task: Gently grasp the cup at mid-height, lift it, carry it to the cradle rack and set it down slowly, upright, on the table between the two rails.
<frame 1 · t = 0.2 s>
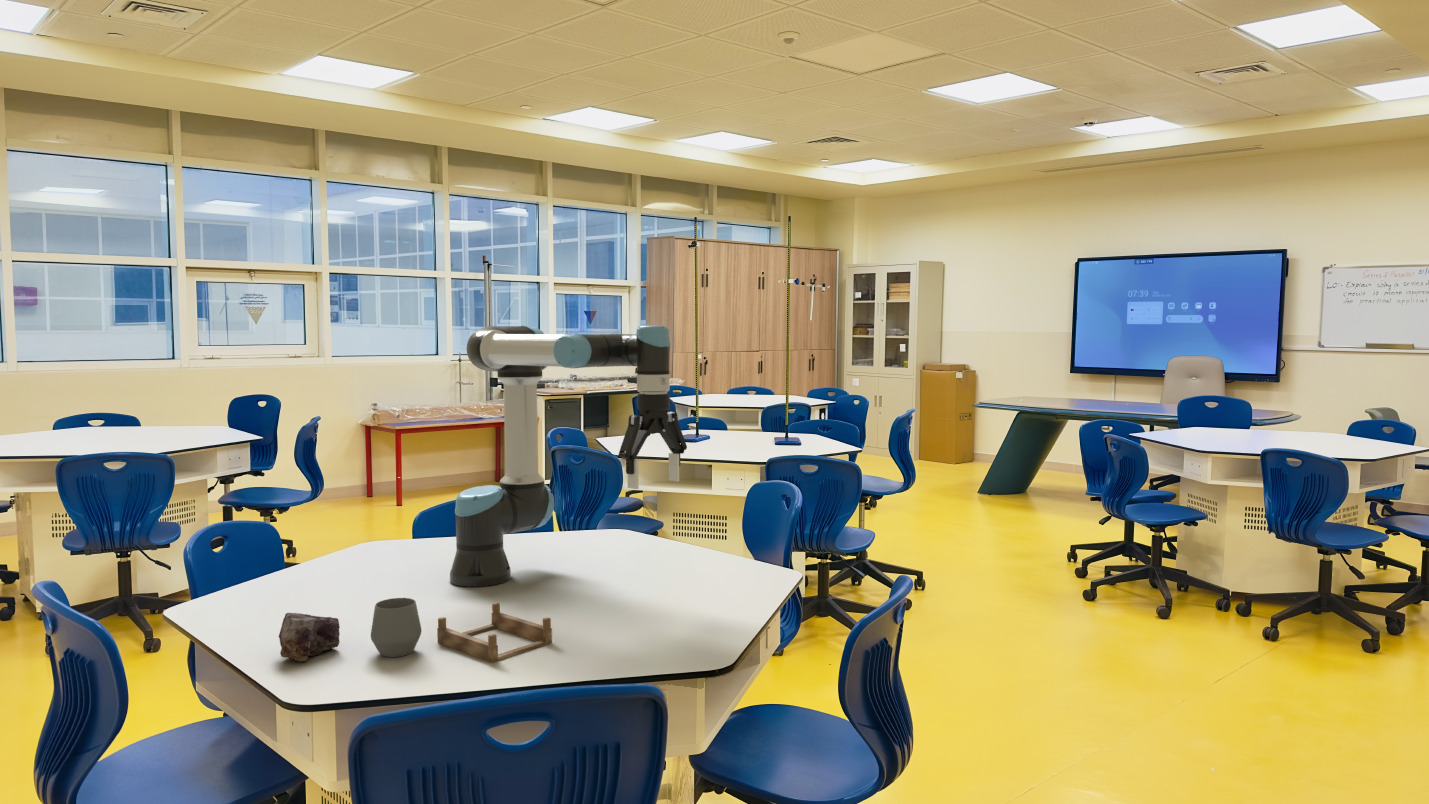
hand: (654, 484, 215), 28 cm above the table, fingers open, 13 cm apart
rack: (494, 642, 189), on the table
cup: (396, 653, 183), on the table
rock: (305, 655, 182), on the table
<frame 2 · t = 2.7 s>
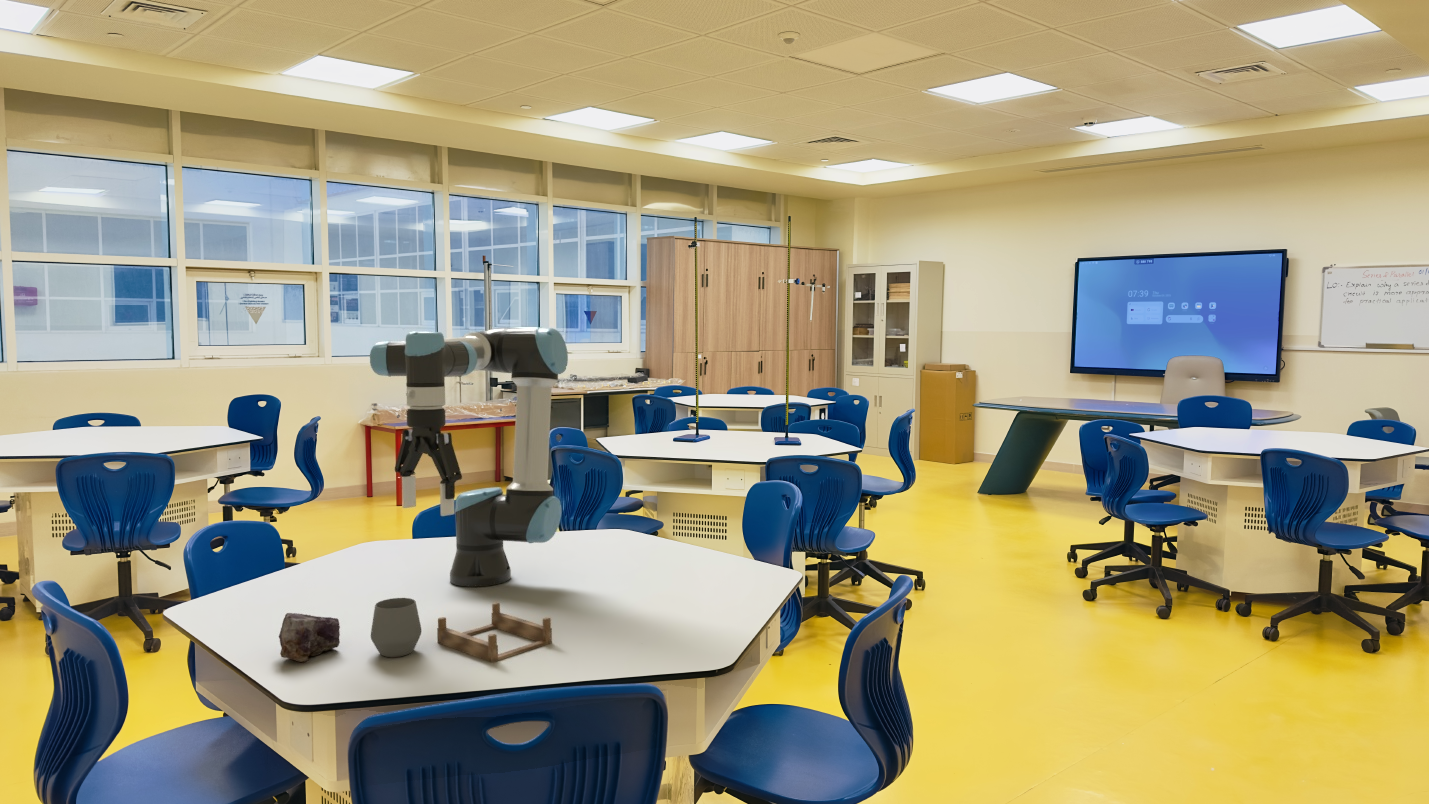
hand: (428, 511, 190), 26 cm above the table, fingers open, 13 cm apart
nothing on the table moved.
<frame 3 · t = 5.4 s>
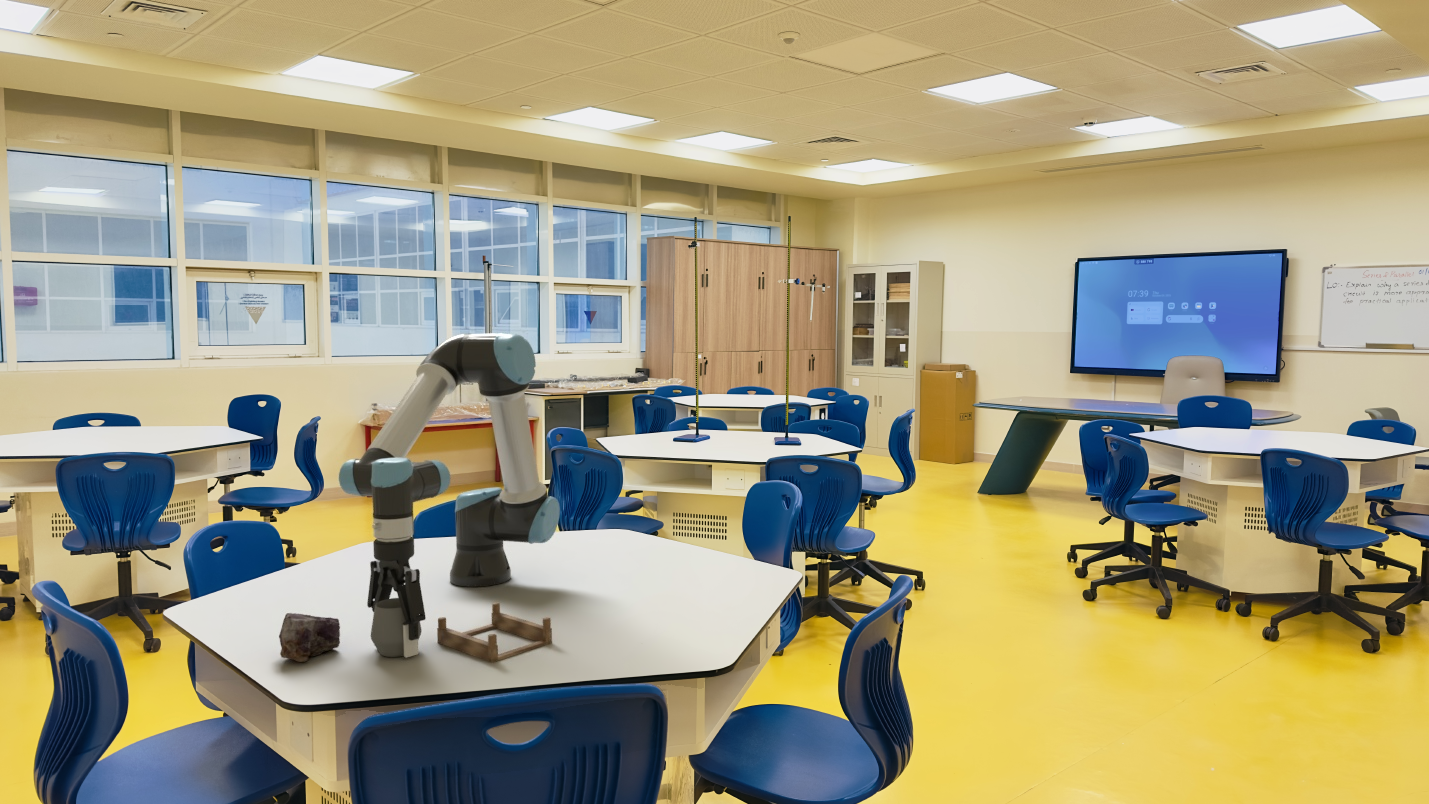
hand: (396, 649, 183), 1 cm above the table, fingers closed on cup, 9 cm apart
cup: (396, 653, 183), on the table, touching gripper
everything else where it was.
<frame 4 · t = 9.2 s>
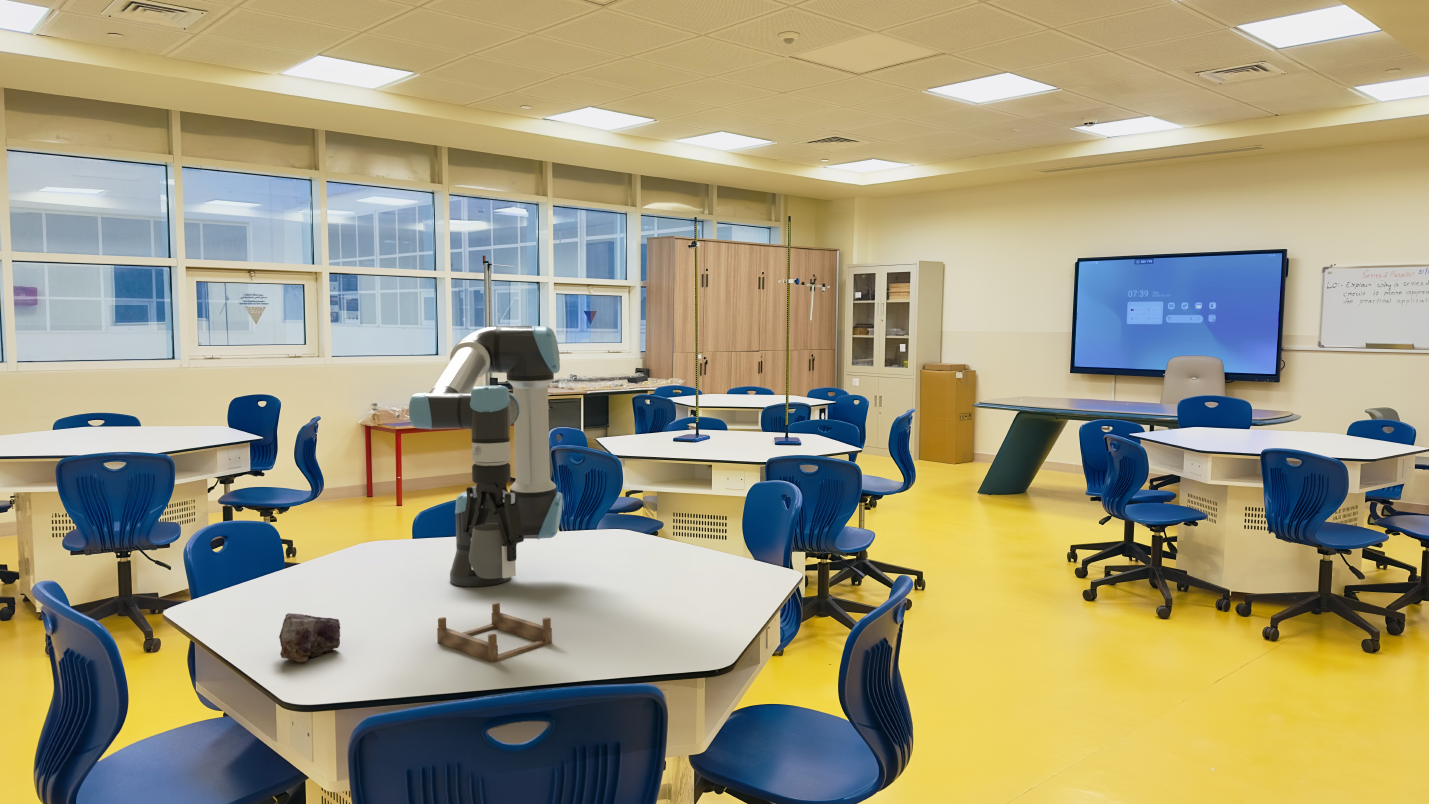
hand: (493, 572, 188), 15 cm above the table, fingers closed on cup, 9 cm apart
cup: (493, 576, 188), point 14 cm above the table, touching gripper
everything else where it was.
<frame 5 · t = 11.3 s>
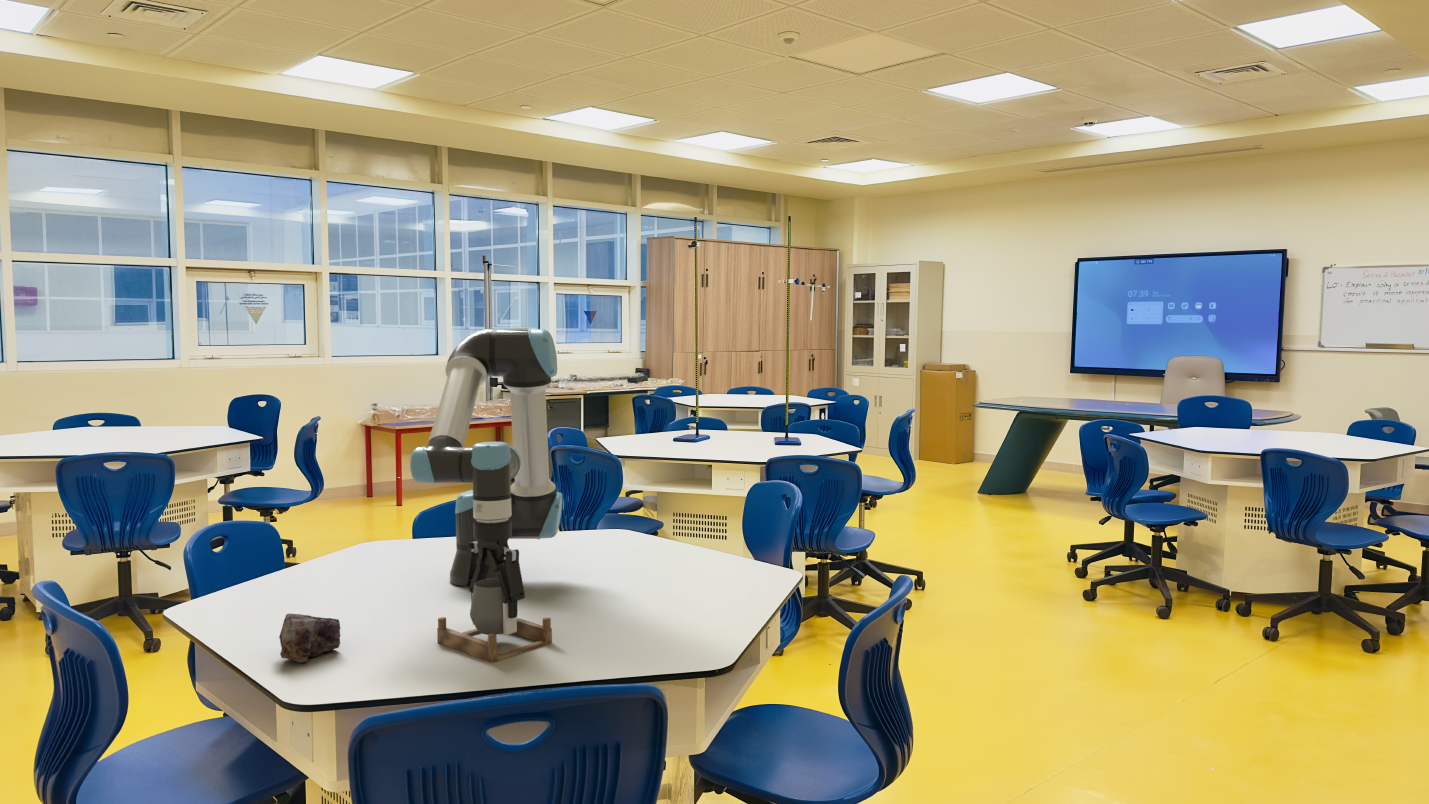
hand: (494, 627, 189), 3 cm above the table, fingers closed on cup, 9 cm apart
cup: (494, 632, 189), point 2 cm above the table, touching gripper
everything else where it was.
when the fingers open (2 cm above the table, at t = 12.8 s): cup drops 1 cm, resting in rack.
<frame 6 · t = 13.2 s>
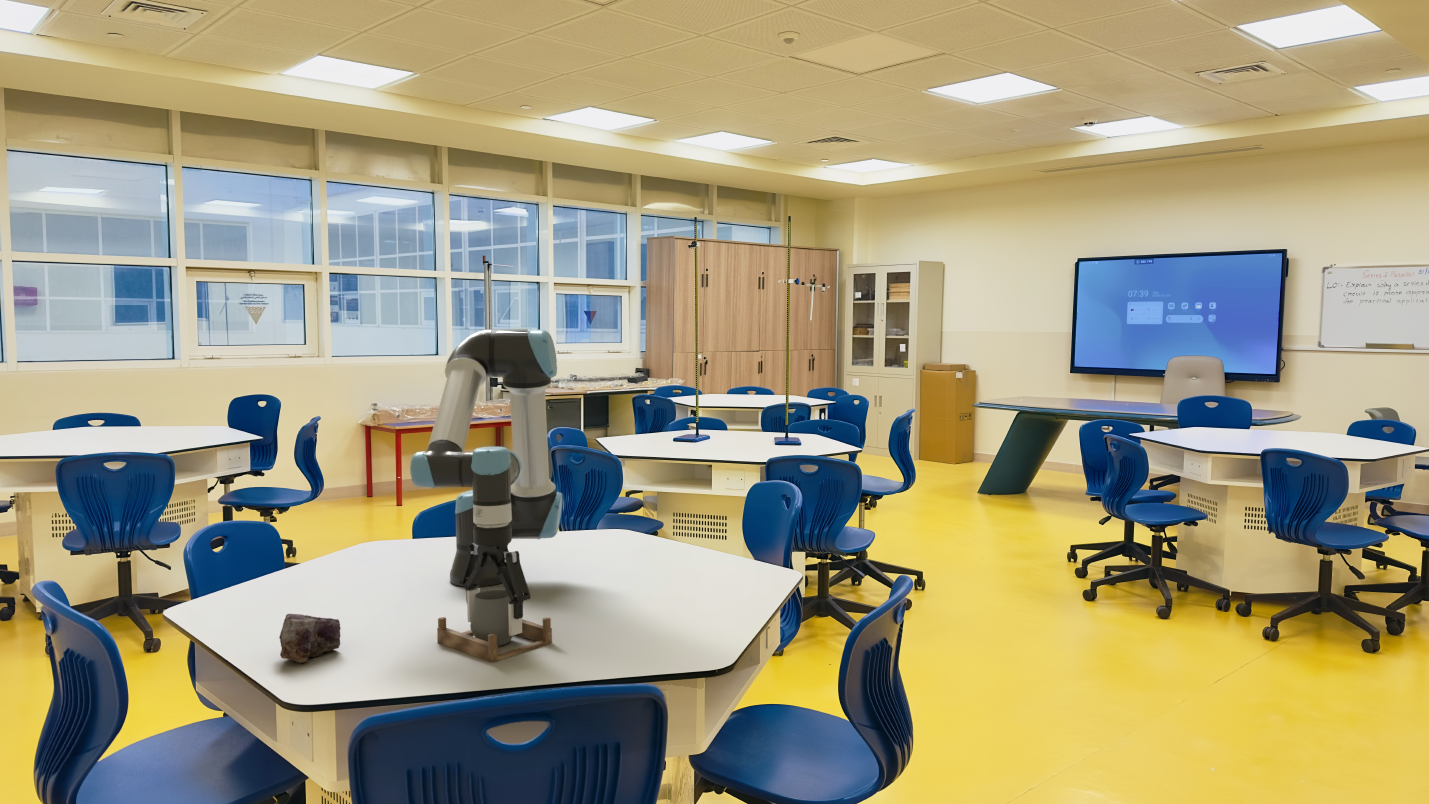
hand: (494, 627, 189), 3 cm above the table, fingers open, 13 cm apart
cup: (494, 643, 189), resting in rack
everything else where it was.
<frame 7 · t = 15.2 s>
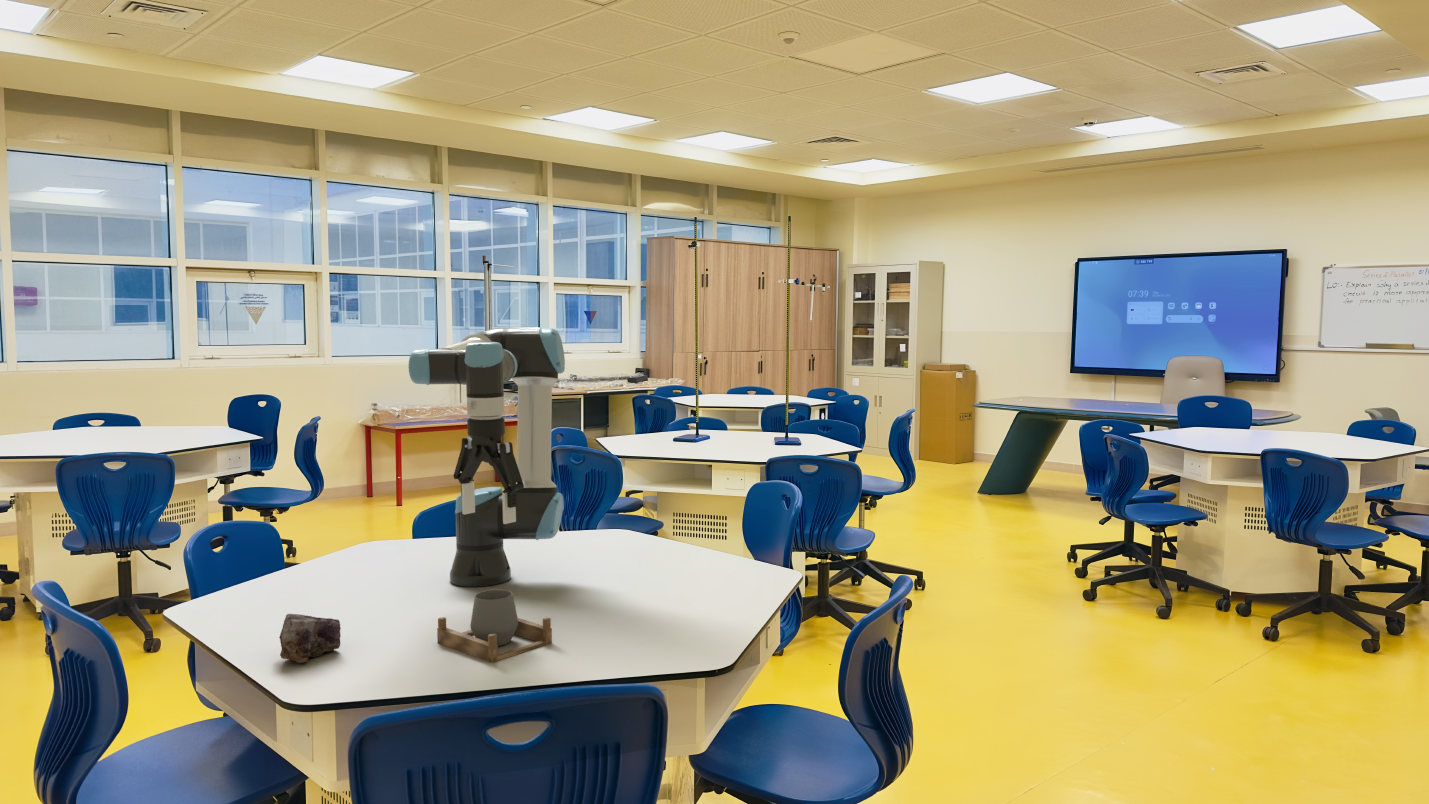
hand: (488, 517, 194), 24 cm above the table, fingers open, 13 cm apart
nothing on the table moved.
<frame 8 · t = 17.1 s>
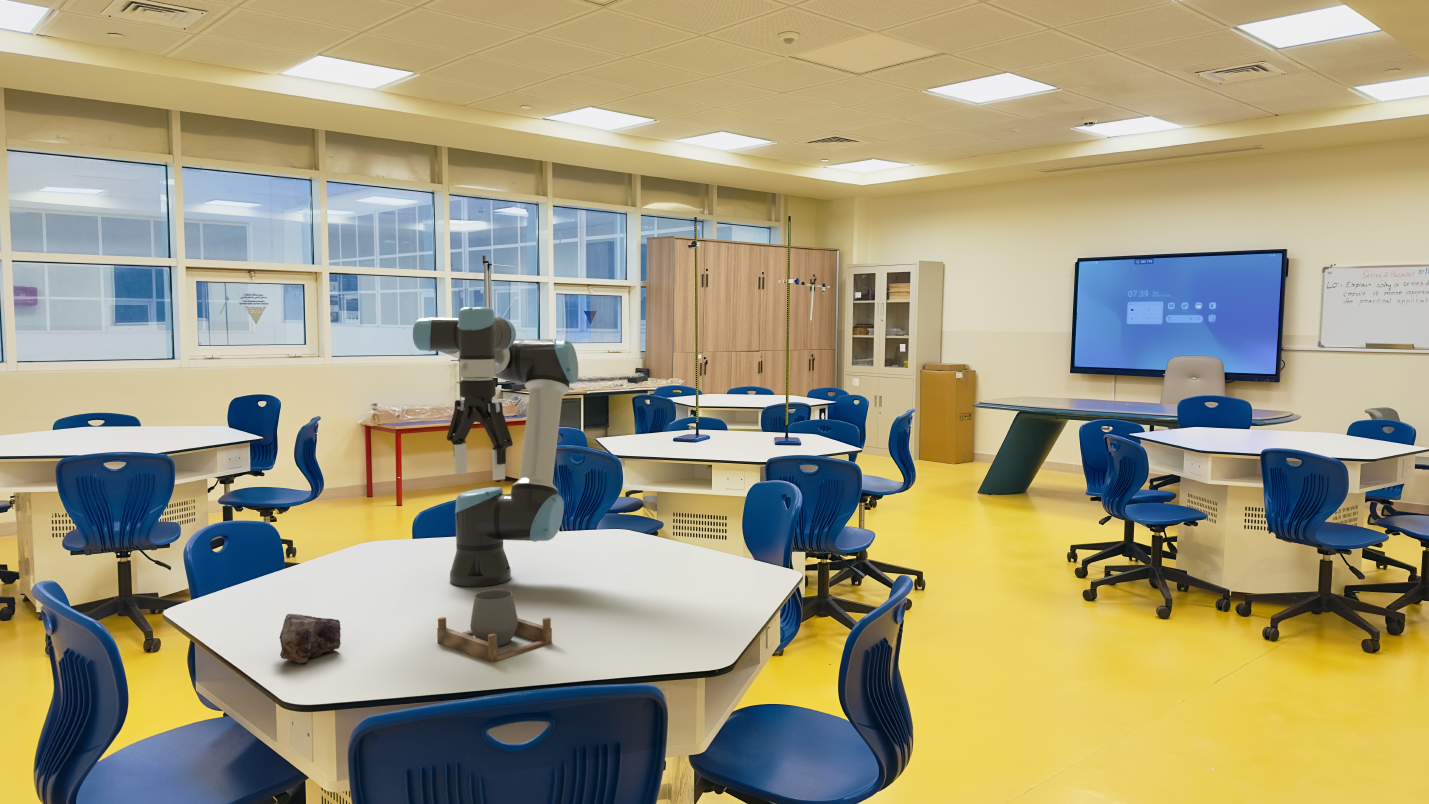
hand: (479, 476, 202), 32 cm above the table, fingers open, 13 cm apart
at the end: cup inside the target area on the rack (0.0 cm from its centre), point 0.0 cm above the rack's base; cup tilted 0°; the gripper is holding nothing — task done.
